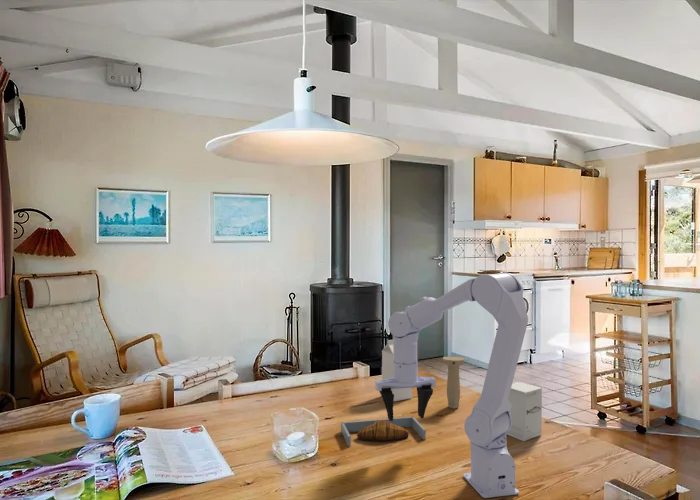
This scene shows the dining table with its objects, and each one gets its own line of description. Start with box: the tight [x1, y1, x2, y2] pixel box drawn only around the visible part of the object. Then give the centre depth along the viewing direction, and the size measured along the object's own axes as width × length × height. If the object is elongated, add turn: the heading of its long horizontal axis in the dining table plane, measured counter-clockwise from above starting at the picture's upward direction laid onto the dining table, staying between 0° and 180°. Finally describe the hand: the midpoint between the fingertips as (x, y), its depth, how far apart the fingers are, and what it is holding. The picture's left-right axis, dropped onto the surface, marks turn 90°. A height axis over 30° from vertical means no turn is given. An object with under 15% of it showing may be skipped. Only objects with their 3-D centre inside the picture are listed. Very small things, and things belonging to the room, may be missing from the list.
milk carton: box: [381, 339, 413, 402], centre depth 156 cm, size 7×7×19 cm
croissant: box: [356, 420, 410, 442], centre depth 124 cm, size 14×7×5 cm, turn 94°
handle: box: [442, 356, 465, 409], centre depth 147 cm, size 5×6×15 cm
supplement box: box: [506, 381, 543, 442], centre depth 126 cm, size 7×7×13 cm
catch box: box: [340, 416, 427, 447], centre depth 125 cm, size 10×20×2 cm, turn 102°
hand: (405, 418), depth 115 cm, fingers open, 7 cm apart
